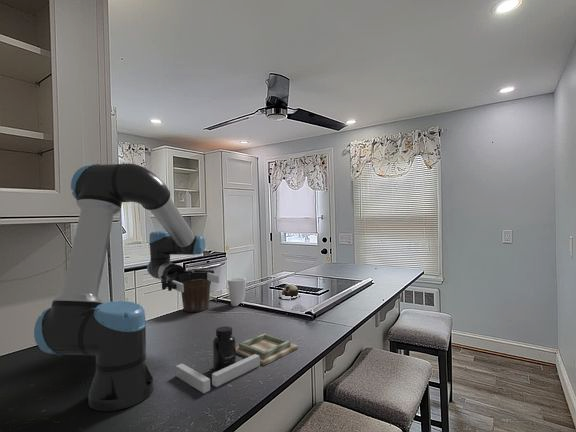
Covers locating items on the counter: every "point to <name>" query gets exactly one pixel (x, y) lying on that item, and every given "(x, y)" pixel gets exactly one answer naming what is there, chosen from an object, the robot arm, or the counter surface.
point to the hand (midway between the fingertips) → (201, 283)
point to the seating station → (265, 348)
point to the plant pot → (196, 295)
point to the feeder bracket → (216, 373)
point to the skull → (290, 290)
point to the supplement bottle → (223, 348)
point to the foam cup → (237, 290)
